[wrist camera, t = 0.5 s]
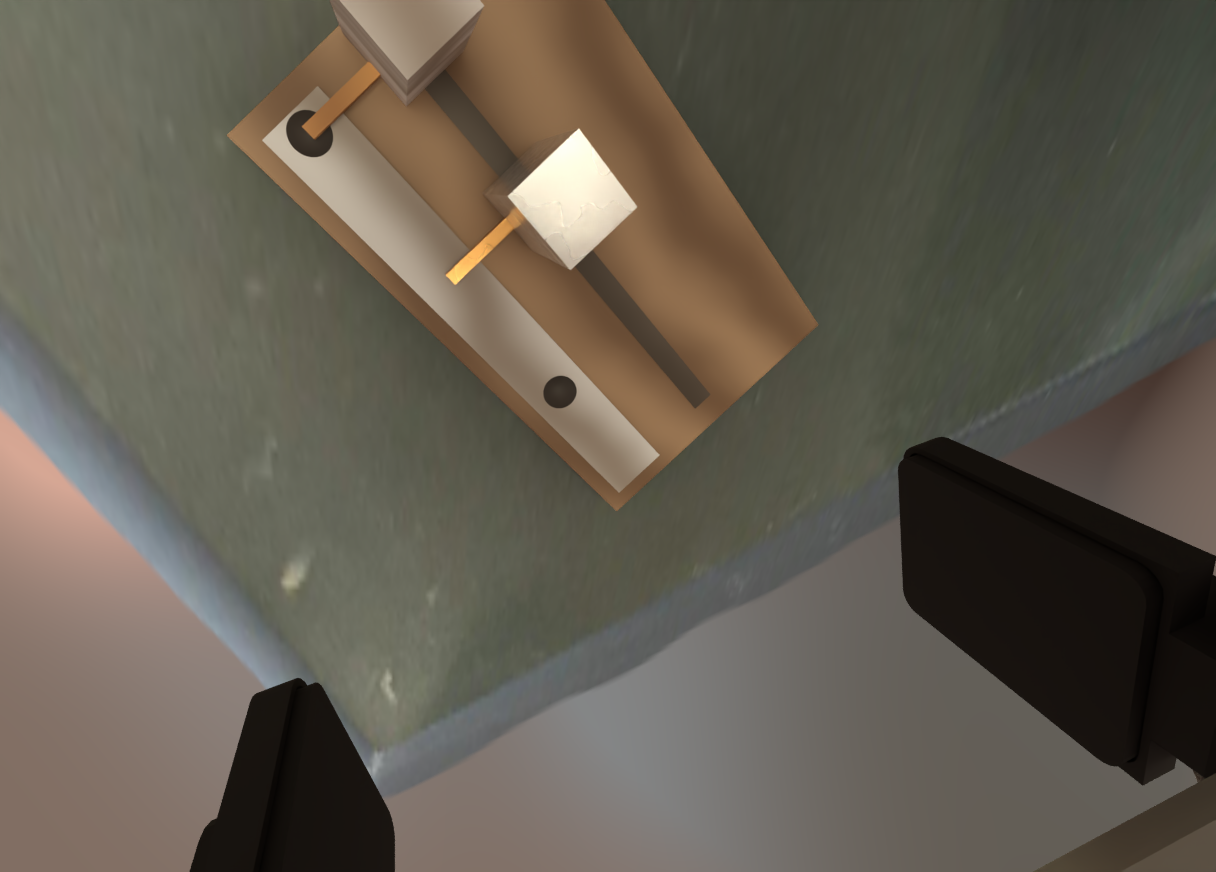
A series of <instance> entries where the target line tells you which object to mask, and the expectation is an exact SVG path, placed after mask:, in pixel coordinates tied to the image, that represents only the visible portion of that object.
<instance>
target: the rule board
mask: <svg viewBox="0 0 1216 872" xmlns="http://www.w3.org/2000/svg"><path fill="white" fill-rule="evenodd" d="M330 3H331V5H332V8H333V10H334V13H335V15H336V18H337V20H338V23H339V26H338V27H337V28H336V29H335V30H334V31H333V32H332V33H331V34H330V35H329V36H328V37H327V38H326V39H325V40H324V41H323V42H322V43H321V44H320V45H318V46H317V47H316V48H315V49H314V50H313V51H312V52H311V53H310V54H309V55H308V56H307V57H306V58H305V59H304V60H303V61H302V62H301V63H300V64H299V65H298V66H297V67H296V68H295V69H294V70H293V71H292V72H291V73H290V74H289V75H288V76H287V77H286V78H285V79H284V80H283V81H282V82H281V83H280V84H279V85H278V86H277V87H276V88H275V89H274V90H273V91H271V92H270V93H269V94H268V95H267V96H266V97H265V98H264V99H263V100H262V101H261V102H260V103H259V104H258V105H257V106H256V107H255V108H254V109H253V110H252V111H251V112H250V113H249V114H248V115H247V116H246V117H245V118H244V119H243V120H242V121H241V122H240V123H239V124H238V125H237V126H236V127H235V128H234V129H233V130H232V131H231V132H230V133H229V134H228V135H227V136H228V137H229V138H230V139H231V140H232V141H233V142H234V143H235V144H236V145H237V146H238V147H239V148H240V149H241V150H243V151H244V152H245V153H246V154H247V155H248V156H249V157H250V158H251V159H252V160H253V161H254V162H255V163H256V164H257V165H258V166H259V167H260V168H261V169H262V170H263V171H264V172H265V173H266V174H267V175H268V176H269V177H271V178H272V179H273V180H274V181H275V182H276V183H277V184H278V185H279V186H280V187H281V188H282V189H283V190H284V191H285V192H286V193H287V194H288V195H289V196H290V197H291V198H292V199H293V200H294V201H295V202H296V203H298V204H299V205H300V206H301V207H302V208H303V209H304V210H305V211H306V212H307V213H308V214H309V215H310V216H311V217H312V218H313V219H314V220H315V221H316V222H317V223H318V224H319V225H320V226H321V227H322V228H323V229H324V230H326V231H327V232H328V233H329V234H330V235H331V236H332V237H333V238H334V239H335V240H336V241H337V242H338V243H339V244H340V245H341V246H342V247H343V248H344V249H345V250H346V251H347V252H348V253H349V254H350V255H351V256H352V257H354V258H355V259H356V260H357V261H358V262H359V263H360V264H361V265H362V266H363V267H364V268H365V269H366V270H367V271H368V272H369V273H370V274H371V275H372V276H373V277H374V278H375V279H376V280H377V281H378V282H379V283H380V284H382V285H383V286H384V287H385V288H386V289H387V290H388V291H389V292H390V293H391V294H392V295H393V296H394V297H395V298H396V299H397V300H398V301H399V302H400V303H401V304H402V305H403V306H404V307H405V308H406V309H407V310H408V311H410V312H411V313H412V314H413V315H414V316H415V317H416V318H417V319H418V320H419V321H420V322H421V323H422V324H423V325H424V326H425V327H426V328H427V329H428V330H429V331H430V332H431V333H432V334H433V335H434V336H435V337H437V338H438V339H439V340H440V341H441V342H442V343H443V344H444V345H445V346H446V347H447V348H448V349H449V350H450V351H451V352H452V353H453V354H454V355H455V356H456V357H457V358H458V359H459V360H460V361H461V362H462V363H463V364H465V365H466V366H467V367H468V368H469V369H470V370H471V371H472V372H473V373H474V374H475V375H476V376H477V377H478V378H479V379H480V380H481V381H482V382H483V383H484V384H485V385H486V386H487V387H488V388H489V389H490V390H491V391H493V392H494V393H495V394H496V395H497V396H498V397H499V398H500V399H501V400H502V401H503V402H504V403H505V404H506V405H507V406H508V407H509V408H510V409H511V410H512V411H513V412H514V413H515V414H516V415H517V416H518V417H519V418H521V419H522V420H523V421H524V422H525V423H526V424H527V425H528V426H529V427H530V428H531V429H532V430H533V431H534V432H535V433H536V434H537V435H538V436H539V437H540V438H541V439H542V440H543V441H544V442H545V443H546V444H548V445H549V446H550V447H551V448H552V449H553V450H554V451H555V452H556V453H557V454H558V455H559V456H560V457H561V458H562V459H563V460H564V461H565V462H566V463H567V464H568V465H569V466H570V467H571V468H572V469H573V470H574V471H576V472H577V473H578V474H579V475H580V476H581V477H582V478H583V479H584V480H585V481H586V482H587V483H588V484H589V485H590V486H591V487H592V488H593V489H594V490H595V491H596V492H597V493H598V494H599V495H600V496H601V497H602V498H604V499H605V500H606V501H607V502H608V503H609V504H610V505H611V506H612V507H613V508H614V509H615V510H616V511H618V510H619V509H620V508H621V507H622V506H623V505H624V504H625V503H626V502H627V501H628V500H629V499H631V498H632V497H633V496H634V495H635V494H636V493H637V492H638V491H639V490H640V489H641V488H642V487H644V486H645V485H646V484H647V483H648V482H649V481H650V480H651V479H652V478H653V477H654V476H655V475H657V474H658V473H659V472H660V471H661V470H662V469H663V468H664V467H665V466H666V465H667V464H668V463H669V462H671V461H672V460H673V459H674V458H675V457H676V456H677V455H678V454H679V453H680V452H681V451H682V450H684V449H685V448H686V447H687V446H688V445H689V444H690V443H691V442H692V441H693V440H694V439H695V438H697V437H698V436H699V435H700V434H701V433H702V432H703V431H704V430H705V429H706V428H707V427H708V426H709V425H711V424H712V423H713V422H714V421H715V420H716V419H717V418H718V417H719V416H720V415H721V414H722V413H724V412H725V411H726V410H727V409H728V408H729V407H730V406H731V405H732V404H733V403H734V402H735V401H737V400H738V399H739V398H740V397H741V396H742V395H743V394H744V393H745V392H746V391H747V390H748V389H749V388H751V387H752V386H753V385H754V384H755V383H756V382H757V381H758V380H759V379H760V378H761V377H762V376H764V375H765V374H766V373H767V372H768V371H769V370H770V369H771V368H772V367H773V366H774V365H775V364H777V363H778V362H779V361H780V360H781V359H782V358H783V357H784V356H785V355H786V354H787V353H788V352H789V351H791V350H792V349H793V348H794V347H795V346H796V345H797V344H798V343H799V342H800V341H801V340H802V339H804V338H805V337H806V336H807V335H808V334H809V333H810V332H811V331H812V330H813V329H814V328H815V327H817V326H818V323H817V322H816V320H815V319H814V317H813V316H812V314H811V313H810V311H809V310H808V308H807V307H806V305H805V304H804V302H803V301H802V299H801V298H800V296H799V295H798V293H797V292H796V290H795V289H794V287H793V285H792V284H791V282H790V281H789V279H788V278H787V276H786V275H785V273H784V272H783V270H782V269H781V267H780V266H779V264H778V263H777V261H776V260H775V258H774V257H773V255H772V254H771V252H770V251H769V249H768V248H767V246H766V244H765V243H764V241H763V240H762V238H761V237H760V235H759V234H758V232H757V231H756V229H755V228H754V226H753V225H752V223H751V222H750V220H749V219H748V217H747V216H746V214H745V213H744V211H743V210H742V208H741V207H740V205H739V203H738V202H737V200H736V199H735V197H734V196H733V194H732V193H731V191H730V190H729V188H728V187H727V185H726V184H725V182H724V181H723V179H722V178H721V176H720V175H719V173H718V172H717V170H716V169H715V167H714V166H713V164H712V162H711V161H710V159H709V158H708V156H707V155H706V153H705V152H704V150H703V149H702V147H701V146H700V144H699V143H698V141H697V140H696V138H695V137H694V135H693V134H692V132H691V131H690V129H689V128H688V126H687V125H686V123H685V121H684V120H683V118H682V117H681V115H680V114H679V112H678V111H677V109H676V108H675V106H674V105H673V103H672V102H671V100H670V99H669V97H668V96H667V94H666V93H665V91H664V90H663V88H662V87H661V85H660V84H659V82H658V80H657V79H656V77H655V76H654V74H653V73H652V71H651V70H650V68H649V67H648V65H647V64H646V62H645V61H644V59H643V58H642V56H641V55H640V53H639V52H638V50H637V49H636V47H635V46H634V44H633V43H632V41H631V39H630V38H629V36H628V35H627V33H626V32H625V30H624V29H623V27H622V26H621V24H620V23H619V21H618V20H617V18H616V17H615V15H614V14H613V12H612V11H611V9H610V8H609V6H608V5H607V3H606V2H605V0H330ZM578 128H579V129H580V131H581V132H582V133H583V135H584V136H585V137H586V139H587V140H588V141H589V143H590V144H591V145H592V147H593V148H594V149H595V151H596V152H597V154H598V155H599V156H600V158H601V159H602V160H603V162H604V163H605V164H606V166H607V167H608V168H609V170H610V171H611V172H612V174H613V175H614V176H615V178H616V179H617V180H618V182H619V183H620V184H621V186H622V187H623V188H624V190H625V191H626V192H627V194H628V195H629V196H630V198H631V199H632V200H633V202H634V203H635V204H636V206H637V208H636V209H635V210H634V211H633V212H632V213H631V214H629V215H628V216H627V217H626V218H625V219H624V220H623V221H622V222H621V223H620V224H619V225H618V226H617V227H616V228H615V229H614V230H613V231H612V232H610V233H609V234H608V235H607V236H606V237H605V238H604V239H603V240H602V241H601V242H600V243H599V244H598V245H597V246H596V247H595V248H594V249H592V250H591V251H590V252H589V253H588V254H587V255H586V256H585V257H584V258H583V259H582V260H581V261H580V262H579V263H578V264H577V265H576V266H574V267H573V268H572V269H571V270H569V269H567V268H565V267H563V266H561V265H559V264H558V263H556V262H554V261H552V260H550V259H548V258H546V257H544V256H542V255H540V254H538V253H536V252H534V251H532V250H531V248H530V247H529V246H528V245H527V244H526V243H525V242H524V240H523V239H522V238H521V237H520V236H519V235H518V234H517V232H516V231H515V230H514V229H513V230H512V231H511V232H510V233H509V234H508V235H507V236H506V237H505V238H504V239H503V240H502V241H501V242H500V243H499V244H498V245H496V246H495V247H494V248H493V249H492V250H491V251H490V252H489V253H488V254H487V255H486V256H485V257H484V258H483V259H482V260H481V261H480V262H479V263H478V264H477V265H475V266H474V267H473V268H472V269H471V270H470V271H469V272H468V273H467V274H466V275H465V276H464V277H463V278H462V279H461V280H460V281H459V282H458V283H457V284H456V285H455V284H454V283H453V282H452V281H451V280H450V279H449V278H448V277H447V276H446V274H445V273H446V272H448V271H449V270H450V269H451V268H452V267H453V266H454V265H455V264H456V263H457V262H458V261H459V260H460V259H461V258H462V257H463V256H464V255H465V254H466V253H467V252H468V251H470V250H471V249H472V248H473V247H474V246H475V245H476V244H477V243H478V242H479V241H480V240H481V239H482V238H483V237H484V236H485V235H486V234H487V233H488V232H489V231H491V230H492V229H493V228H494V227H495V226H496V225H497V224H498V223H499V222H500V221H501V220H502V219H503V218H504V217H503V216H502V215H501V214H500V213H499V212H498V211H497V209H496V208H495V207H494V206H493V205H492V204H491V203H490V201H489V200H488V199H487V198H486V197H485V196H484V194H483V192H484V191H485V190H486V189H487V188H488V187H490V186H491V185H492V184H493V183H494V182H495V181H496V180H497V179H498V178H499V177H500V176H501V175H502V174H503V173H504V172H505V171H506V170H507V169H508V168H509V167H510V166H511V165H512V164H514V163H515V162H516V161H517V160H518V159H519V158H520V157H521V156H522V155H523V154H524V153H525V152H526V151H527V150H528V149H529V148H530V147H531V146H532V145H533V144H534V143H535V142H537V141H540V140H543V139H547V138H550V137H553V136H556V135H559V134H562V133H566V132H569V131H572V130H575V129H578Z"/></svg>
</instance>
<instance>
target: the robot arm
mask: <svg viewBox="0 0 1216 872" xmlns="http://www.w3.org/2000/svg"><path fill="white" fill-rule="evenodd" d="M898 479H899V503H900V526H901V551H902V572H903V573H902V574H903V591H904V596H905V598H906V600H907V602H908V604H909V606H910V607H911V608H912V609H913V610H914V611H915V612H916V613H917V614H918V615H919V616H921V617H922V618H923V619H924V620H926V621H927V622H928V623H929V624H931V625H932V626H933V627H934V628H936V629H937V630H938V631H939V632H940V633H942V634H943V635H944V636H945V637H947V638H948V639H949V640H951V641H952V642H953V643H954V644H955V645H957V646H958V647H959V648H960V649H962V650H963V651H964V652H965V653H967V654H968V655H969V656H971V657H972V658H973V659H974V660H975V661H977V662H978V663H979V664H980V665H982V666H983V667H984V668H985V669H987V670H988V671H989V672H990V673H992V674H993V675H994V676H996V677H997V678H998V679H999V680H1000V681H1002V682H1003V683H1004V684H1005V685H1007V686H1008V687H1009V688H1010V689H1012V690H1013V691H1014V692H1015V693H1017V694H1018V695H1019V696H1020V697H1022V698H1023V699H1024V700H1025V701H1027V702H1028V703H1029V704H1030V705H1031V706H1033V707H1034V708H1035V709H1036V710H1038V711H1039V712H1040V713H1041V714H1043V715H1044V716H1045V717H1047V718H1048V719H1049V720H1050V721H1051V722H1053V723H1054V724H1055V725H1056V726H1058V727H1059V728H1060V729H1061V730H1063V731H1064V732H1065V733H1066V734H1068V735H1069V736H1070V737H1071V738H1073V739H1074V740H1075V741H1076V742H1078V743H1079V744H1080V745H1081V746H1083V747H1084V748H1085V749H1086V750H1088V751H1089V752H1090V753H1091V754H1092V755H1094V756H1095V757H1096V758H1098V759H1099V760H1101V761H1102V762H1103V763H1106V764H1108V765H1110V766H1119V767H1120V768H1121V769H1123V770H1124V771H1125V772H1127V773H1128V774H1129V775H1130V776H1131V777H1133V778H1134V779H1135V780H1136V781H1138V782H1139V783H1140V784H1141V785H1145V784H1147V783H1148V782H1150V781H1152V780H1154V779H1156V778H1158V777H1160V776H1161V775H1163V774H1165V773H1167V772H1169V771H1171V770H1173V769H1174V768H1175V762H1176V758H1177V759H1179V760H1180V761H1182V762H1183V763H1185V764H1186V765H1187V766H1188V767H1190V768H1191V769H1193V772H1194V774H1195V777H1196V779H1197V782H1198V783H1197V784H1195V785H1193V786H1191V787H1189V788H1188V789H1186V790H1184V791H1182V792H1180V793H1178V794H1176V795H1174V796H1173V797H1171V798H1169V799H1167V800H1165V801H1163V802H1162V803H1160V804H1158V805H1156V806H1154V807H1152V808H1150V809H1149V810H1147V811H1145V812H1143V813H1141V814H1139V815H1137V816H1135V817H1134V818H1132V819H1130V820H1128V821H1126V822H1125V823H1122V824H1121V825H1119V826H1117V827H1115V828H1113V829H1111V830H1110V831H1108V832H1106V833H1104V834H1102V835H1100V836H1099V837H1096V838H1095V839H1093V840H1091V841H1089V842H1087V843H1086V844H1084V845H1082V846H1080V847H1078V848H1076V849H1074V850H1072V851H1070V852H1069V853H1067V854H1065V855H1063V856H1061V857H1060V858H1057V859H1056V860H1054V861H1052V862H1050V863H1048V864H1046V865H1045V866H1043V867H1041V868H1039V869H1037V870H1035V871H1034V872H1216V576H1214V575H1213V571H1214V566H1215V561H1216V556H1215V555H1212V554H1210V553H1208V552H1205V551H1203V550H1201V549H1199V548H1196V547H1194V546H1192V545H1190V544H1187V543H1185V542H1183V541H1180V540H1178V539H1176V538H1173V537H1171V536H1169V535H1167V534H1165V533H1162V532H1160V531H1158V530H1155V529H1153V528H1151V527H1149V526H1146V525H1144V524H1142V523H1139V522H1137V521H1135V520H1133V519H1130V518H1128V517H1126V516H1124V515H1121V514H1119V513H1117V512H1114V511H1112V510H1110V509H1108V508H1105V507H1103V506H1101V505H1099V504H1096V503H1094V502H1092V501H1089V500H1087V499H1085V498H1083V497H1080V496H1078V495H1076V494H1074V493H1071V492H1069V491H1067V490H1064V489H1062V488H1060V487H1058V486H1056V485H1053V484H1051V483H1049V482H1046V481H1044V480H1042V479H1040V478H1037V477H1035V476H1033V475H1031V474H1028V473H1026V472H1023V471H1021V470H1019V469H1017V468H1015V467H1012V466H1010V465H1008V464H1006V463H1003V462H1001V461H999V460H996V459H994V458H992V457H990V456H987V455H985V454H983V453H981V452H978V451H976V450H974V449H972V448H969V447H967V446H965V445H962V444H960V443H958V442H956V441H953V440H951V439H949V438H945V437H938V438H935V439H932V440H929V441H927V442H924V443H921V444H919V445H916V446H913V447H911V448H909V449H908V450H906V452H905V454H904V459H903V460H902V461H901V462H900V464H899V466H898ZM190 872H395V835H394V827H393V822H392V818H391V815H390V812H389V810H388V808H387V806H386V804H385V802H384V800H383V798H382V797H381V795H380V793H379V791H378V789H377V787H376V785H375V784H374V782H373V780H372V778H371V776H370V774H369V772H368V771H367V769H366V767H365V765H364V763H363V761H362V759H361V758H360V756H359V754H358V752H357V750H356V748H355V746H354V745H353V743H352V741H351V739H350V737H349V735H348V733H347V732H346V730H345V728H344V726H343V724H342V722H341V720H340V719H339V717H338V715H337V713H336V711H335V709H334V707H333V706H332V704H331V702H330V700H329V698H328V696H327V694H326V693H325V691H324V689H323V688H322V686H321V685H320V684H319V683H313V684H310V685H308V686H307V684H306V683H305V682H304V681H303V680H302V679H300V678H296V679H293V680H291V681H288V682H285V683H283V684H280V685H277V686H275V687H272V688H269V689H267V690H264V691H261V692H259V693H256V694H255V695H254V696H253V697H252V699H251V702H250V705H249V708H248V712H247V715H246V718H245V722H244V725H243V729H242V733H241V736H240V740H239V743H238V746H237V750H236V753H235V757H234V761H233V764H232V767H231V771H230V774H229V778H228V782H227V785H226V789H225V792H224V796H223V799H222V803H221V806H220V810H219V813H218V817H217V819H214V820H212V821H211V822H210V823H209V824H208V825H207V826H206V827H205V829H204V831H203V833H202V835H201V837H200V840H199V842H198V846H197V849H196V852H195V856H194V859H193V862H192V865H191V869H190Z"/></svg>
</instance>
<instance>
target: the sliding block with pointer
mask: <svg viewBox="0 0 1216 872" xmlns="http://www.w3.org/2000/svg"><path fill="white" fill-rule="evenodd" d="M483 194H484V196H485V197H486V198H487V199H488V200H489V201H490V203H491V204H492V205H493V206H494V207H495V208H496V209H497V211H498V212H499V213H500V214H501V215H502V216H503V217H504V218H503V219H502V220H501V221H500V222H499V223H498V224H497V225H496V226H495V227H494V228H493V229H492V230H491V231H489V232H488V233H487V234H486V235H485V236H484V237H483V238H482V239H481V240H480V241H479V242H478V243H477V244H476V245H475V246H474V247H473V248H472V249H471V250H470V251H468V252H467V253H466V254H465V255H464V256H463V257H462V258H461V259H460V260H459V261H458V262H457V263H456V264H455V265H454V266H453V267H452V268H451V269H450V270H449V271H448V272H446V273H445V274H446V276H447V277H448V278H449V279H450V280H451V281H452V282H453V283H454V284H455V285H456V284H457V283H458V282H459V281H460V280H461V279H462V278H463V277H464V276H465V275H466V274H467V273H468V272H469V271H470V270H471V269H472V268H473V267H474V266H475V265H477V264H478V263H479V262H480V261H481V260H482V259H483V258H484V257H485V256H486V255H487V254H488V253H489V252H490V251H491V250H492V249H493V248H494V247H495V246H496V245H498V244H499V243H500V242H501V241H502V240H503V239H504V238H505V237H506V236H507V235H508V234H509V233H510V232H511V231H512V230H513V229H514V230H515V231H516V232H517V234H518V235H519V236H520V237H521V238H522V239H523V240H524V242H525V243H526V244H527V245H528V246H529V247H530V248H531V250H532V251H534V252H536V253H538V254H540V255H542V256H544V257H546V258H548V259H550V260H552V261H554V262H556V263H558V264H559V265H561V266H563V267H565V268H567V269H569V270H571V269H572V268H573V267H574V266H576V265H577V264H578V263H579V262H580V261H581V260H582V259H583V258H584V257H585V256H586V255H587V254H588V253H589V252H590V251H591V250H592V249H594V248H595V247H596V246H597V245H598V244H599V243H600V242H601V241H602V240H603V239H604V238H605V237H606V236H607V235H608V234H609V233H610V232H612V231H613V230H614V229H615V228H616V227H617V226H618V225H619V224H620V223H621V222H622V221H623V220H624V219H625V218H626V217H627V216H628V215H629V214H631V213H632V212H633V211H634V210H635V209H636V208H637V206H636V204H635V203H634V202H633V200H632V199H631V198H630V196H629V195H628V194H627V192H626V191H625V190H624V188H623V187H622V186H621V184H620V183H619V182H618V180H617V179H616V178H615V176H614V175H613V174H612V172H611V171H610V170H609V168H608V167H607V166H606V164H605V163H604V162H603V160H602V159H601V158H600V156H599V155H598V154H597V152H596V151H595V149H594V148H593V147H592V145H591V144H590V143H589V141H588V140H587V139H586V137H585V136H584V135H583V133H582V132H581V131H580V129H579V128H578V129H575V130H572V131H569V132H566V133H562V134H559V135H556V136H553V137H550V138H547V139H543V140H540V141H537V142H535V143H534V144H533V145H532V146H531V147H530V148H529V149H528V150H527V151H526V152H525V153H524V154H523V155H522V156H521V157H520V158H519V159H518V160H517V161H516V162H515V163H514V164H512V165H511V166H510V167H509V168H508V169H507V170H506V171H505V172H504V173H503V174H502V175H501V176H500V177H499V178H498V179H497V180H496V181H495V182H494V183H493V184H492V185H491V186H490V187H488V188H487V189H486V190H485V191H484V192H483Z"/></svg>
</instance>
